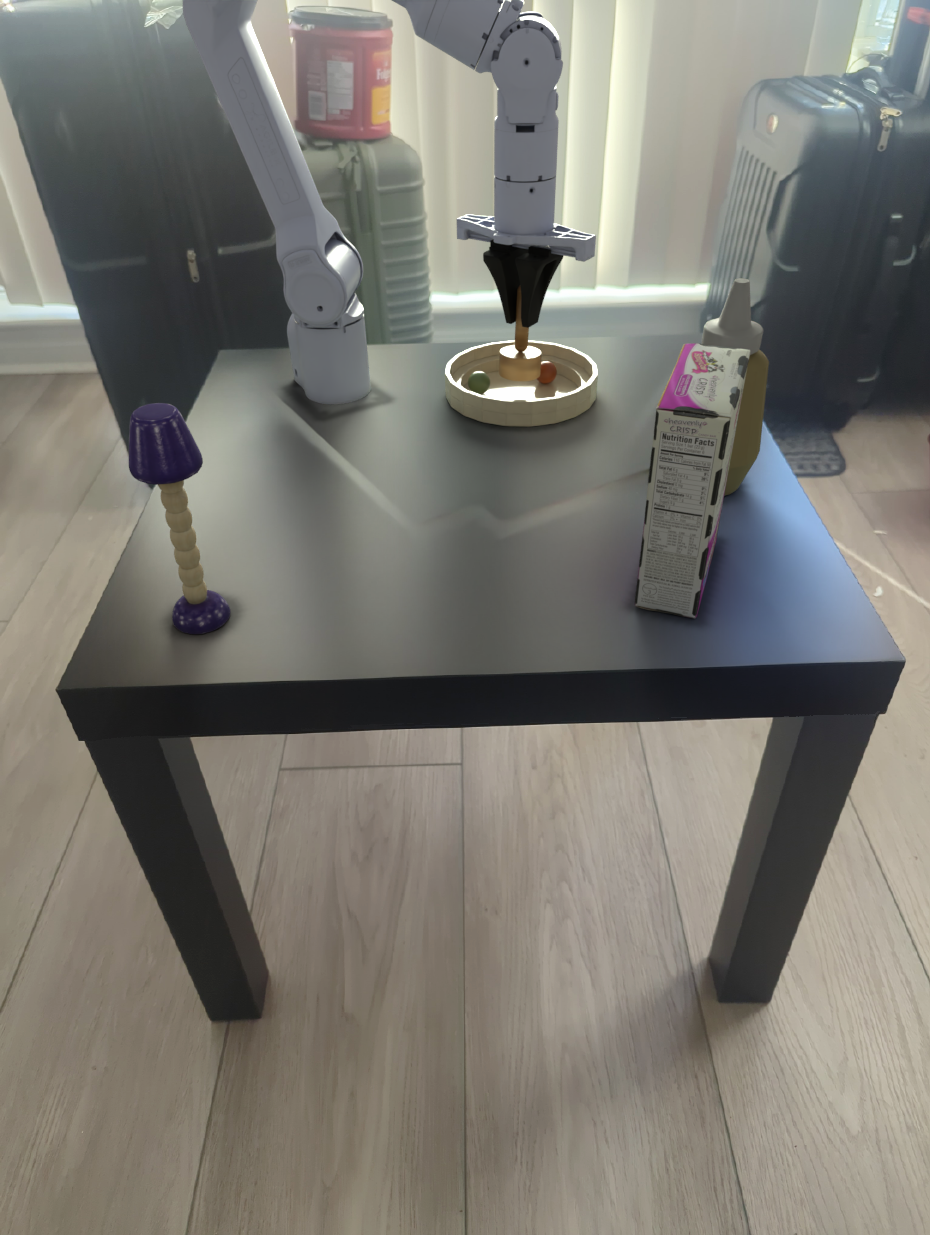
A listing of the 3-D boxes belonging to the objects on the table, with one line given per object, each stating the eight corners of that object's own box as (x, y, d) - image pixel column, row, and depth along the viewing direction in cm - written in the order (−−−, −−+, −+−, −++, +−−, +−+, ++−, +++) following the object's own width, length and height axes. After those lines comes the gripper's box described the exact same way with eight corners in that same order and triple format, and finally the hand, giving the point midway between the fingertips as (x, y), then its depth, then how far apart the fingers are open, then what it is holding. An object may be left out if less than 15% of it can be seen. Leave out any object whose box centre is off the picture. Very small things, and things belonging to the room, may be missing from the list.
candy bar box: (656, 531, 72) (683, 339, 62) (716, 541, 70) (754, 347, 60) (628, 609, 64) (654, 404, 53) (696, 622, 62) (736, 414, 52)
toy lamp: (229, 591, 67) (180, 389, 56) (246, 625, 63) (197, 417, 53) (167, 610, 65) (105, 405, 54) (181, 645, 62) (117, 434, 51)
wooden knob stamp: (493, 368, 92) (496, 279, 86) (532, 365, 93) (537, 277, 87) (506, 383, 88) (510, 291, 83) (546, 379, 89) (553, 288, 84)
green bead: (475, 374, 93) (462, 372, 91) (493, 370, 91) (481, 368, 89) (477, 396, 93) (464, 395, 91) (495, 393, 92) (483, 391, 90)
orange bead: (535, 380, 95) (528, 364, 93) (554, 369, 95) (547, 352, 93) (543, 392, 93) (536, 376, 91) (562, 380, 93) (556, 364, 91)
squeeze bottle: (707, 453, 82) (741, 258, 71) (771, 489, 77) (819, 284, 65) (642, 476, 79) (667, 276, 68) (704, 515, 74) (742, 305, 62)
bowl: (420, 391, 95) (418, 361, 92) (537, 359, 101) (538, 330, 99) (499, 448, 84) (499, 415, 82) (625, 408, 90) (629, 376, 88)
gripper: (436, 175, 79) (441, 320, 88) (572, 194, 73) (563, 349, 81) (478, 161, 84) (480, 301, 92) (611, 178, 77) (599, 326, 86)
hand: (521, 322), depth 87 cm, fingers closed on wooden knob stamp
